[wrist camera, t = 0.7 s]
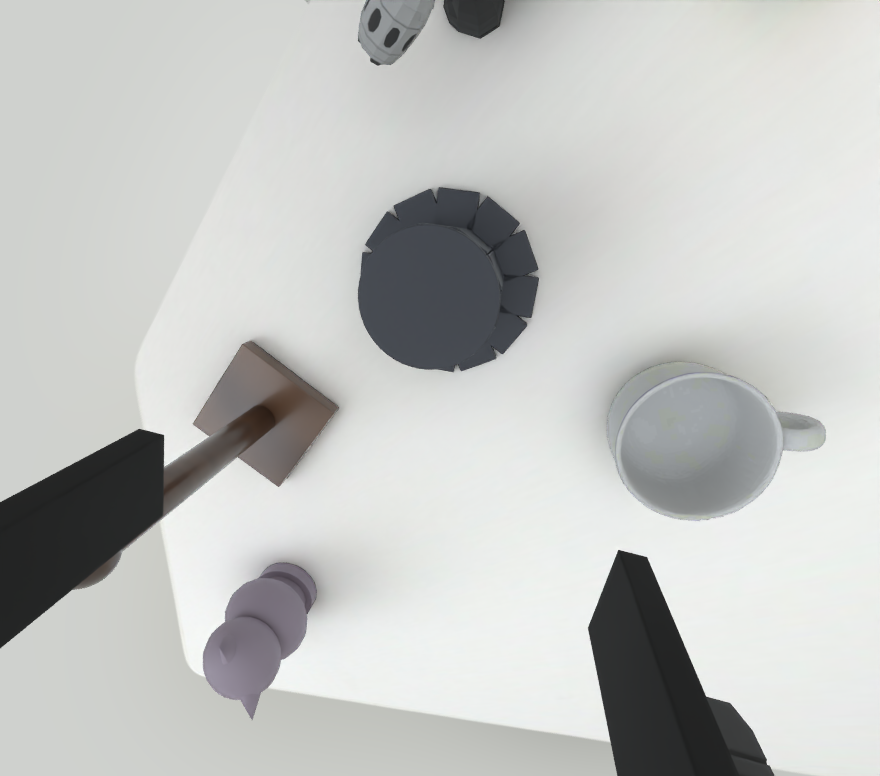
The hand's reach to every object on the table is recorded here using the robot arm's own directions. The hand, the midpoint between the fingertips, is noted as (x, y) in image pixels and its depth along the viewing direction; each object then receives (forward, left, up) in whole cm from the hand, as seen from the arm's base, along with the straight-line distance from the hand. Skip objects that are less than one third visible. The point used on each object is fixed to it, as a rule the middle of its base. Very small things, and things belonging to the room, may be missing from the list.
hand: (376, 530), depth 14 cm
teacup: (-6, +18, -29) cm, 35 cm away
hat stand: (+18, -10, -28) cm, 35 cm away
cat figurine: (+34, +2, -29) cm, 44 cm away
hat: (-2, -4, -28) cm, 29 cm away
